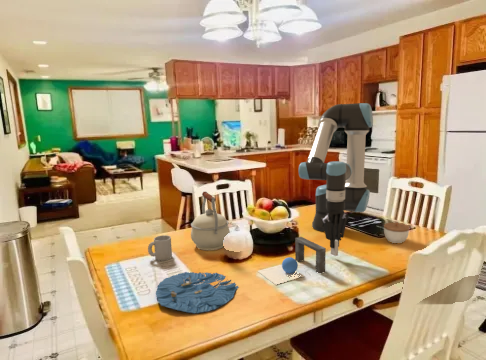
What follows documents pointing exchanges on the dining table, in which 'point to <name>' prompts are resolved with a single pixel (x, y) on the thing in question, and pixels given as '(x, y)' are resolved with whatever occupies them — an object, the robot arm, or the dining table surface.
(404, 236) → the white lidded pot
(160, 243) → the cup
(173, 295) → the blue cloth
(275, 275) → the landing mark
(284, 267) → the ball
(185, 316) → the dining table surface
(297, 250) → the bridge
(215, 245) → the kettle
